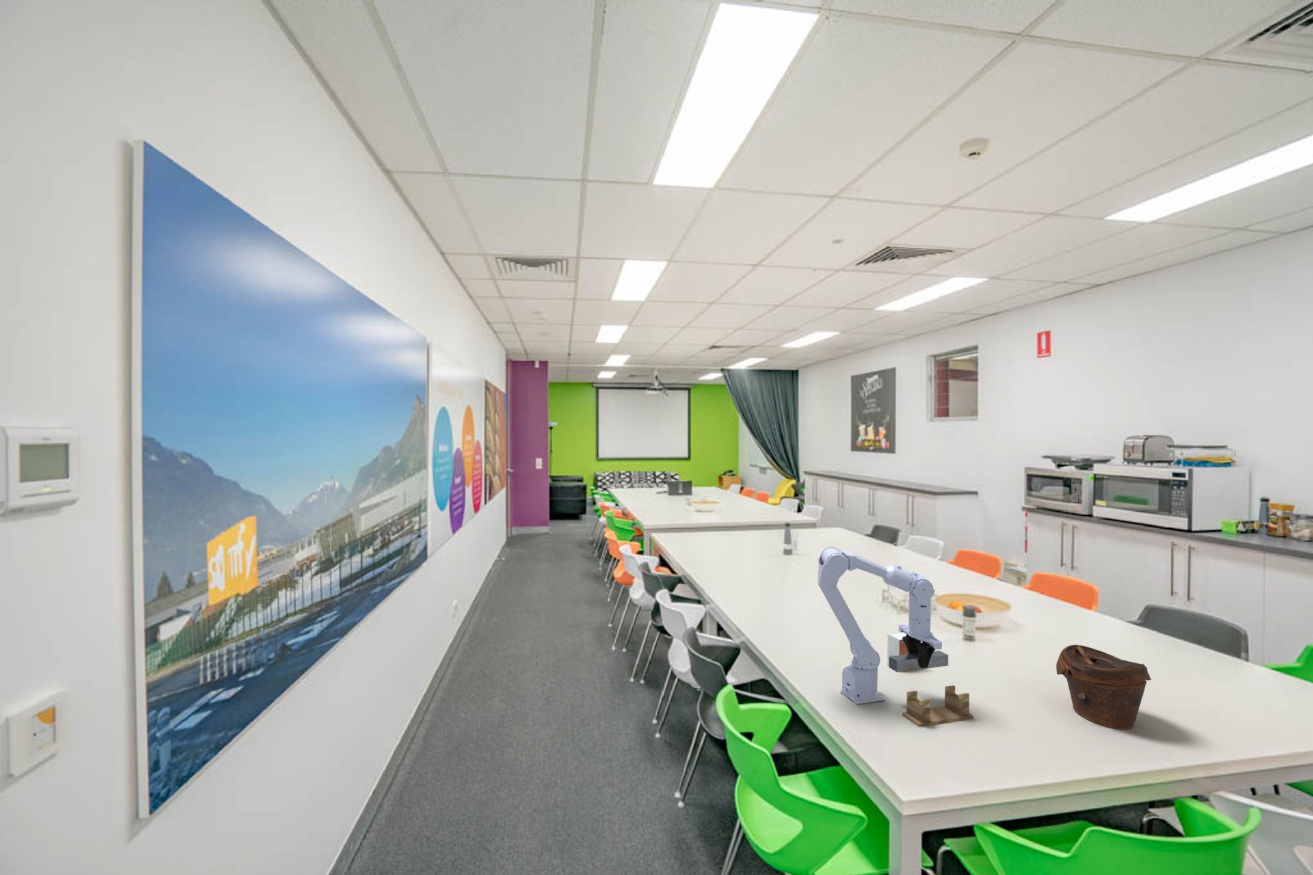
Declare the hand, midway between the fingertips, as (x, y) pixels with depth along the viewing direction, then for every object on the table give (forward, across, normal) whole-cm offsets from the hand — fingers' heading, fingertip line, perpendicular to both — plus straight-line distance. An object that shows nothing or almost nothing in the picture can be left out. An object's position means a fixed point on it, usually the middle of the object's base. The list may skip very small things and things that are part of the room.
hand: (919, 664), depth 151 cm
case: (+10, -20, -43) cm, 49 cm away
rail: (0, 0, 0) cm, 1 cm away
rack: (+10, -9, +2) cm, 14 cm away
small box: (+10, +20, -12) cm, 26 cm away
